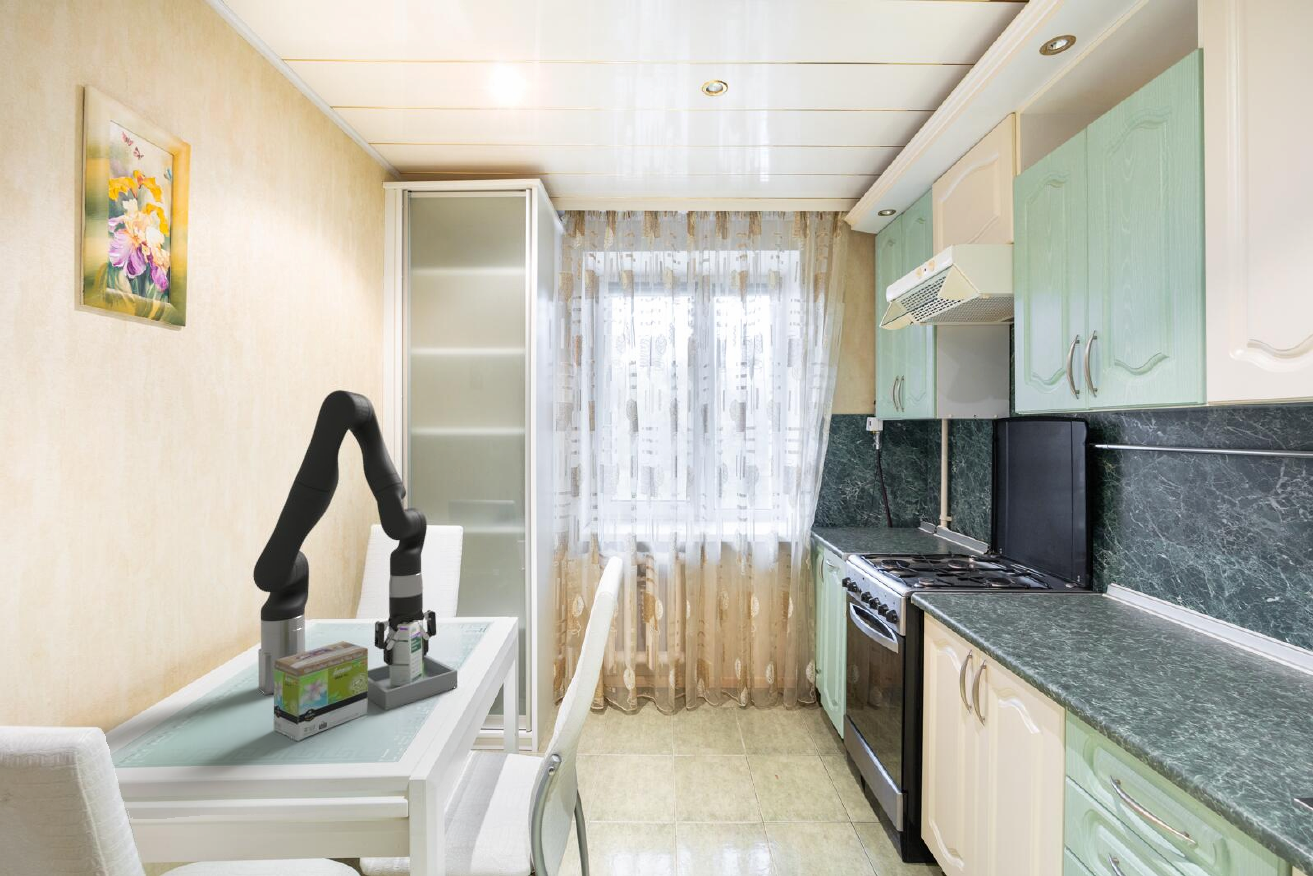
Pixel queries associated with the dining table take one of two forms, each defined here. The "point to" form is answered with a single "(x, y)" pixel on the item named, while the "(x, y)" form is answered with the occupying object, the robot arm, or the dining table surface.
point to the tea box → (320, 689)
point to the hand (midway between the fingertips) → (406, 659)
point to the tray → (393, 696)
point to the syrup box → (407, 655)
